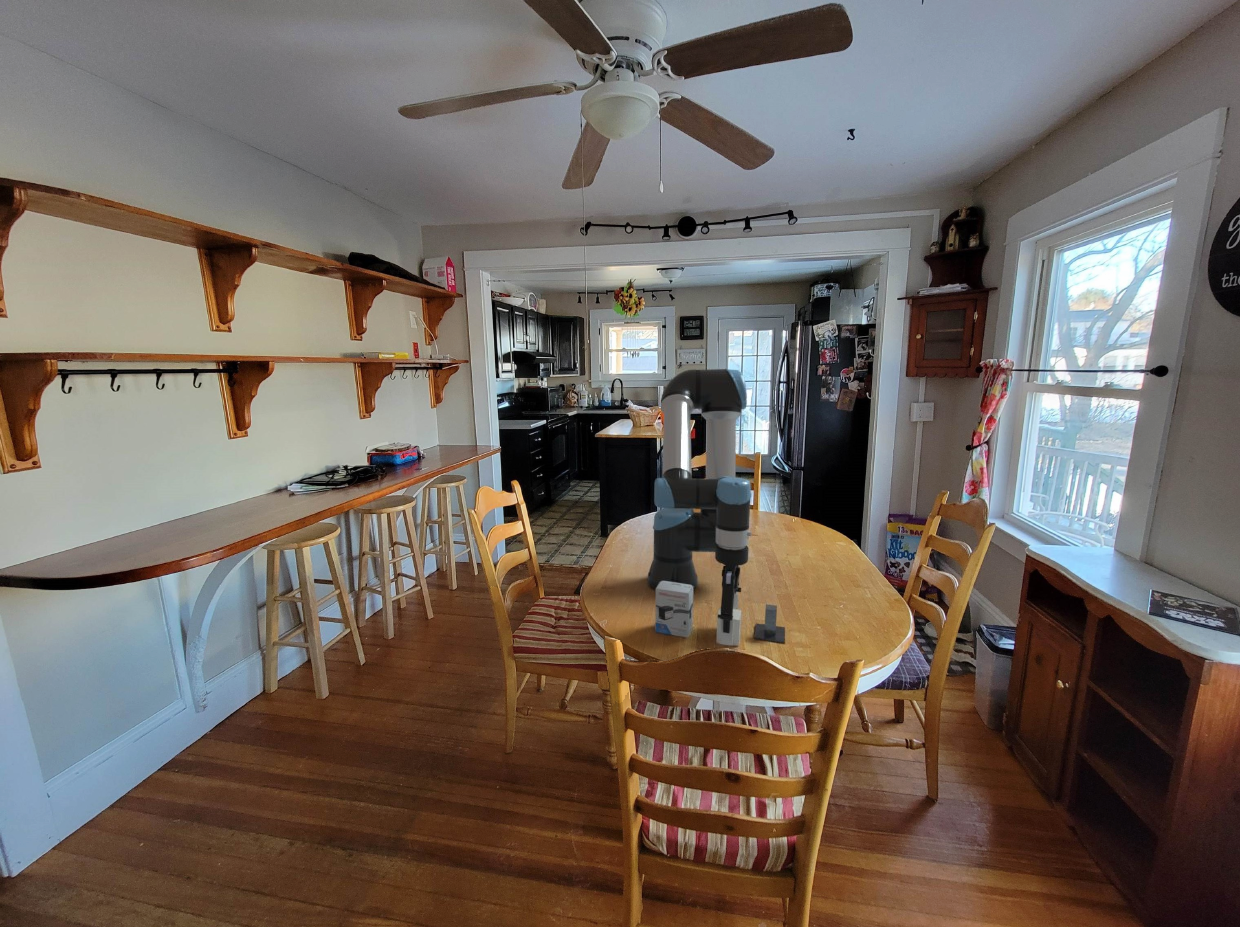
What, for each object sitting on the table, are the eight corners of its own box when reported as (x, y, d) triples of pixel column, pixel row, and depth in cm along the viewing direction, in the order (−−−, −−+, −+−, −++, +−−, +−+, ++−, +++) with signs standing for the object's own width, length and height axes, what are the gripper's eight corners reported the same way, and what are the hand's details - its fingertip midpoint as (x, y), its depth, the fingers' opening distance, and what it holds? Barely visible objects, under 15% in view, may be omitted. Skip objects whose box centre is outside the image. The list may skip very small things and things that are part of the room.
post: (754, 638, 122) (755, 611, 121) (755, 625, 129) (757, 599, 128) (784, 643, 120) (786, 615, 119) (784, 629, 127) (786, 602, 126)
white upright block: (716, 642, 121) (717, 616, 119) (718, 632, 126) (719, 607, 124) (738, 646, 119) (739, 620, 118) (740, 635, 124) (741, 610, 123)
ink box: (654, 632, 126) (654, 587, 124) (660, 623, 130) (660, 580, 128) (688, 638, 123) (689, 593, 121) (692, 629, 127) (693, 584, 125)
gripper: (744, 565, 105) (741, 659, 109) (751, 530, 129) (748, 609, 132) (708, 561, 107) (706, 654, 111) (721, 528, 131) (719, 605, 134)
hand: (729, 630), depth 121 cm, fingers open, 13 cm apart
